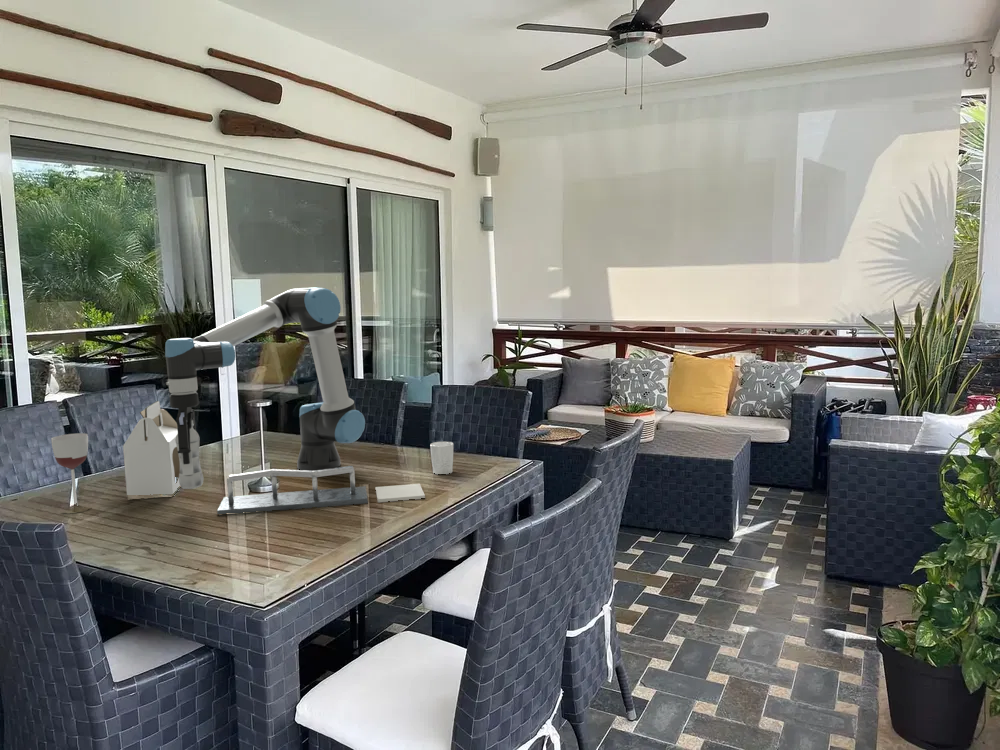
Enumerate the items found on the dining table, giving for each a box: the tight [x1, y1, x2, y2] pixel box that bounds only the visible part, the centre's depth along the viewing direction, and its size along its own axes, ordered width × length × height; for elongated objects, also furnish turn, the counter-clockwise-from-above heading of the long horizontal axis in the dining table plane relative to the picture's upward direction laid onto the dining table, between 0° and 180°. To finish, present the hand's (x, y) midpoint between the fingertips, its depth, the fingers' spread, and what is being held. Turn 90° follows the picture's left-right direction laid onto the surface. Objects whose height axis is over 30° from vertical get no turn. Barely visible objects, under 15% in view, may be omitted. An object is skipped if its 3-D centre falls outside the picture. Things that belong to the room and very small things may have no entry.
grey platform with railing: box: [216, 465, 369, 514], centre depth 219 cm, size 14×42×10 cm, turn 103°
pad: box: [375, 483, 426, 503], centre depth 226 cm, size 14×14×1 cm
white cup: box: [429, 441, 454, 475], centre depth 252 cm, size 8×8×10 cm
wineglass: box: [51, 432, 89, 505], centre depth 216 cm, size 9×10×22 cm
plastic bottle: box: [175, 419, 204, 490], centre depth 212 cm, size 6×7×20 cm
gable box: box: [122, 400, 180, 496], centre depth 236 cm, size 22×13×28 cm, turn 12°
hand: (190, 471), depth 212 cm, fingers closed on plastic bottle, 6 cm apart
